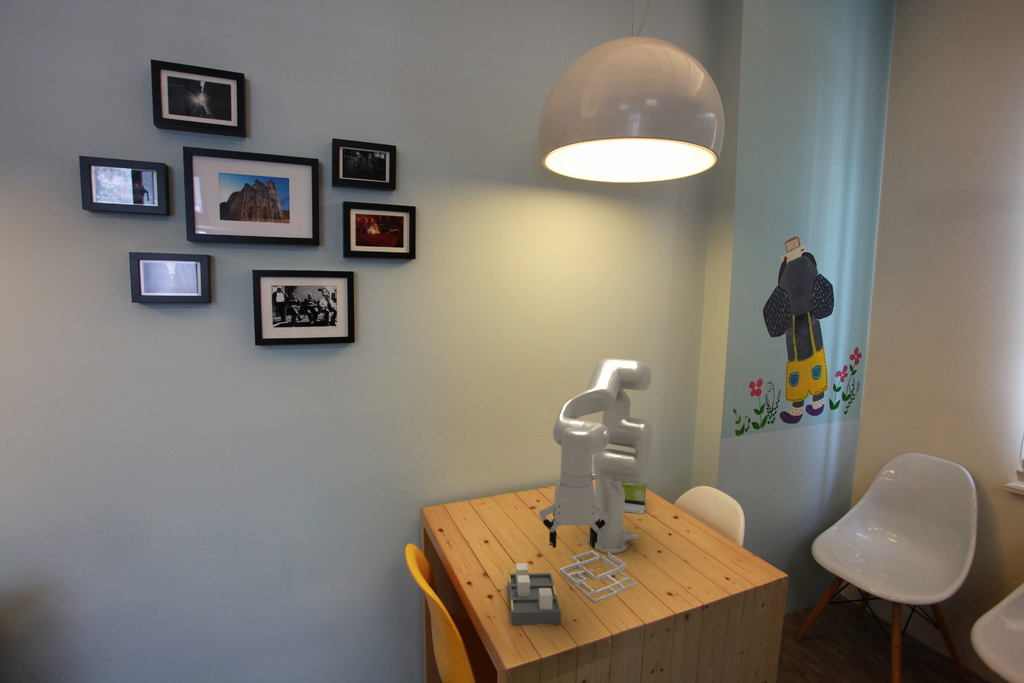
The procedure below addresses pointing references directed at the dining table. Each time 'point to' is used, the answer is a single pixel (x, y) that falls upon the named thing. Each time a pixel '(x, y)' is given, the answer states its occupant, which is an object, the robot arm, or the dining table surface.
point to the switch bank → (533, 601)
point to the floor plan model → (608, 574)
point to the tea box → (634, 497)
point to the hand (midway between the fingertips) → (572, 545)
